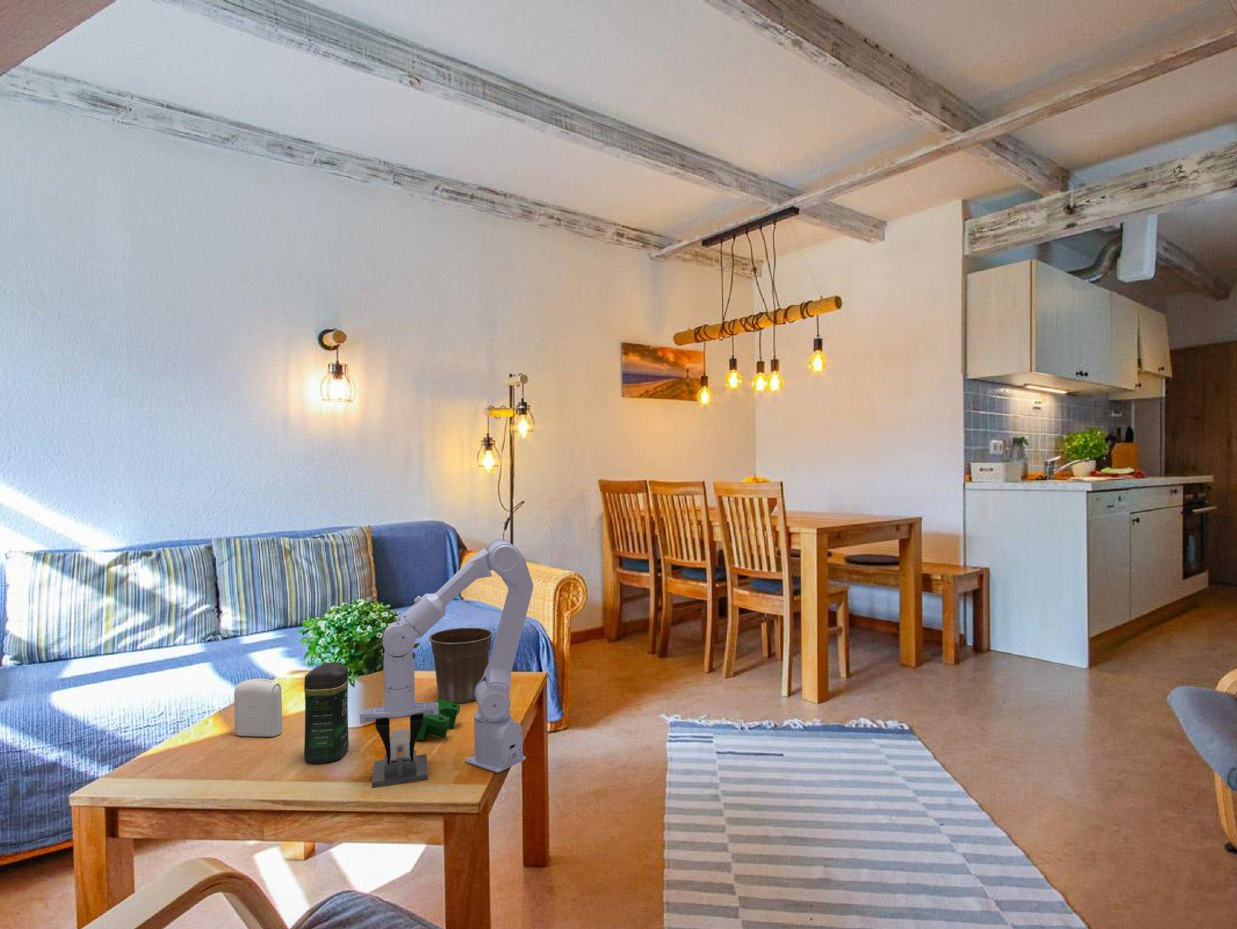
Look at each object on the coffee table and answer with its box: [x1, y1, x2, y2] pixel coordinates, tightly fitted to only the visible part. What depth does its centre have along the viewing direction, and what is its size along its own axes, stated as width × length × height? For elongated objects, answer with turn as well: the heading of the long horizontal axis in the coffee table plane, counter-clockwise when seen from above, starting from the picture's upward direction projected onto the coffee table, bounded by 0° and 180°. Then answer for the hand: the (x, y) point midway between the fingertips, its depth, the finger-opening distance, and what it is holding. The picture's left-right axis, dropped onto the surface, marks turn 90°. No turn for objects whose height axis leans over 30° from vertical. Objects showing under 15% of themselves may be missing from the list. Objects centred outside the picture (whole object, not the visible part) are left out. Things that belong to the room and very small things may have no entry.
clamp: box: [416, 698, 461, 742], centre depth 155 cm, size 12×6×9 cm, turn 168°
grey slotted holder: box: [371, 749, 429, 789], centre depth 135 cm, size 10×10×5 cm
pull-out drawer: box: [390, 727, 411, 763], centre depth 135 cm, size 4×5×6 cm
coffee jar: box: [303, 661, 350, 764], centre depth 144 cm, size 10×8×19 cm
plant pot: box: [428, 627, 494, 705], centre depth 180 cm, size 16×16×16 cm
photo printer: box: [233, 678, 283, 738], centre depth 156 cm, size 10×4×12 cm, turn 81°
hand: (400, 755), depth 135 cm, fingers closed on pull-out drawer, 3 cm apart
